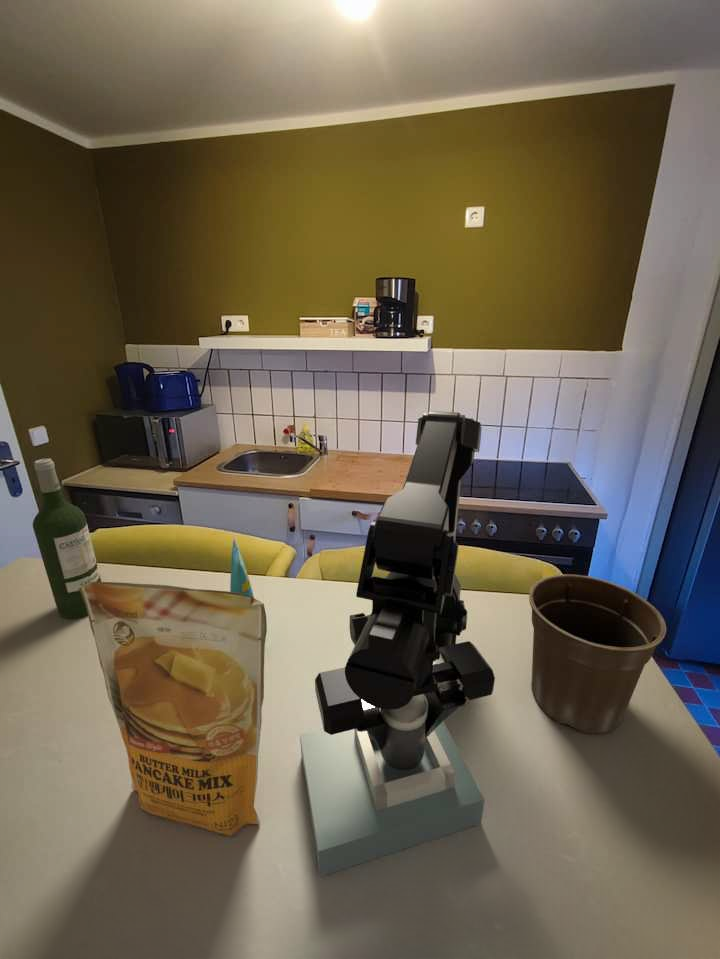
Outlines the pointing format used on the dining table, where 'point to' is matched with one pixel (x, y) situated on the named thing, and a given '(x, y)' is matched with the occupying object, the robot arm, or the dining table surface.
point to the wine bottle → (63, 544)
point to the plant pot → (589, 649)
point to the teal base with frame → (383, 796)
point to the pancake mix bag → (185, 696)
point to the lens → (405, 734)
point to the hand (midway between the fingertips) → (402, 739)
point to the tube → (239, 573)
